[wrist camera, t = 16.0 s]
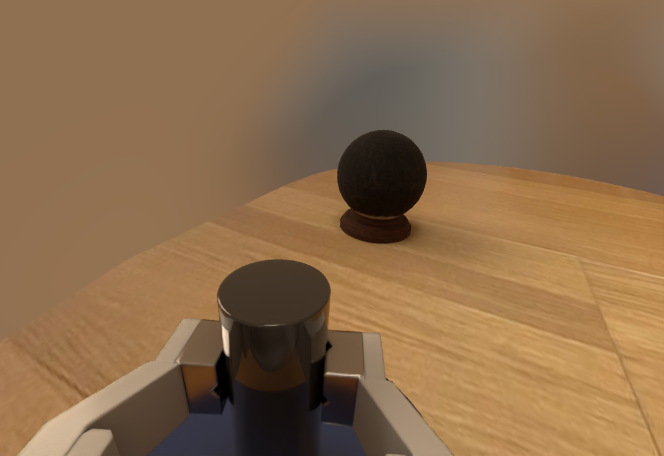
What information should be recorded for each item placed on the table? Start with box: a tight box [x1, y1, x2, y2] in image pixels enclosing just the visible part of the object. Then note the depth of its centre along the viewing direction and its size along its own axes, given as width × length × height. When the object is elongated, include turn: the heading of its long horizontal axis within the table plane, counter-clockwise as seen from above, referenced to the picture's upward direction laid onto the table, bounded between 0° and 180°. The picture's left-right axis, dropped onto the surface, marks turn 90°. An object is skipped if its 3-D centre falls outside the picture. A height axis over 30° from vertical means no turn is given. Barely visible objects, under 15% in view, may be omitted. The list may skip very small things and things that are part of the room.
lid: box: [147, 259, 423, 456], centre depth 10 cm, size 12×12×9 cm
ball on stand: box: [337, 130, 427, 243], centre depth 50 cm, size 13×13×15 cm
